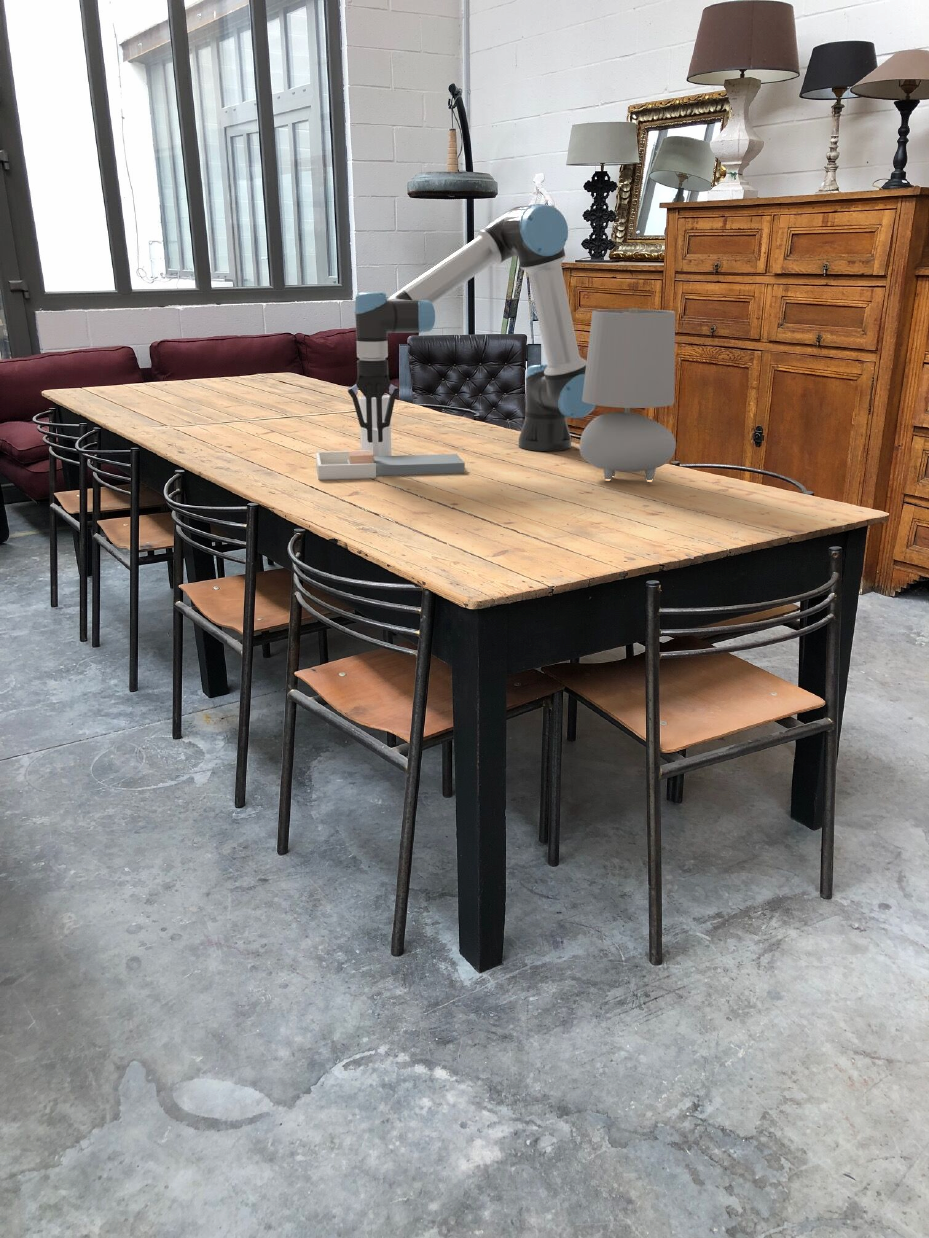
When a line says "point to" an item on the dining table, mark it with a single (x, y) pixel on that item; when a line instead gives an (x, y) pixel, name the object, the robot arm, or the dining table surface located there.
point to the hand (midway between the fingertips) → (375, 455)
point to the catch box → (341, 467)
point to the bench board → (419, 464)
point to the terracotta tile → (360, 457)
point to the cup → (386, 443)
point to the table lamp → (629, 389)
